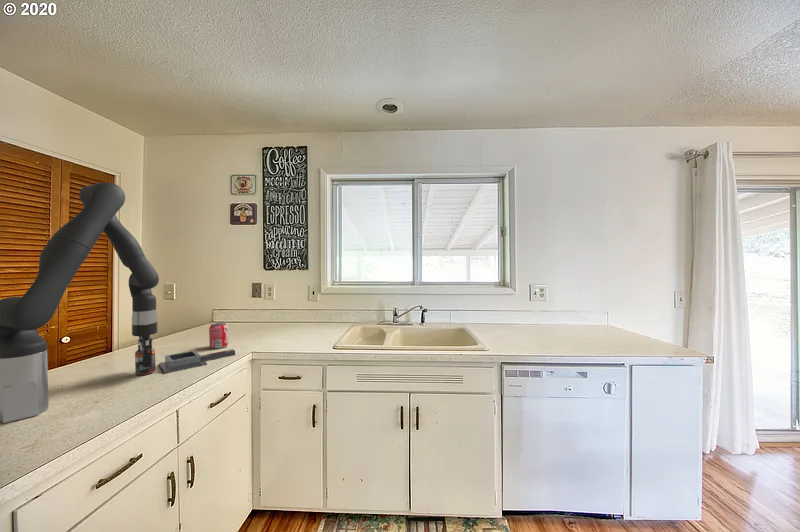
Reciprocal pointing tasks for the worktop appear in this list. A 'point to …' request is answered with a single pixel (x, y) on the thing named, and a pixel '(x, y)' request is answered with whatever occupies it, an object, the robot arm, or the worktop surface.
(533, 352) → the worktop surface
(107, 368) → the worktop surface
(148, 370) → the supplement bottle
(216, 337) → the beverage can
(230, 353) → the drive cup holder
